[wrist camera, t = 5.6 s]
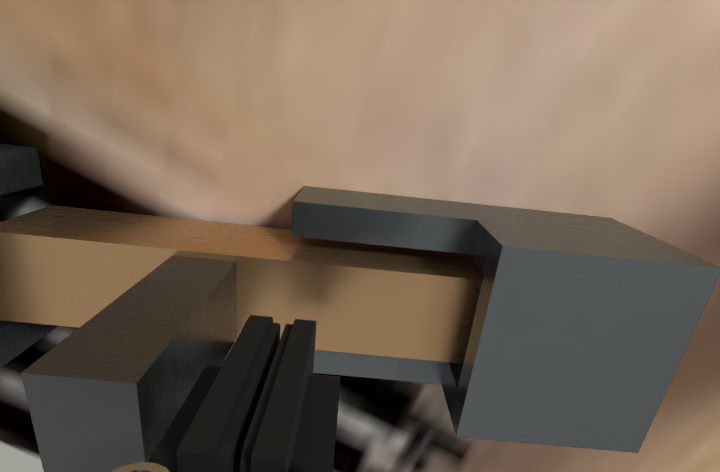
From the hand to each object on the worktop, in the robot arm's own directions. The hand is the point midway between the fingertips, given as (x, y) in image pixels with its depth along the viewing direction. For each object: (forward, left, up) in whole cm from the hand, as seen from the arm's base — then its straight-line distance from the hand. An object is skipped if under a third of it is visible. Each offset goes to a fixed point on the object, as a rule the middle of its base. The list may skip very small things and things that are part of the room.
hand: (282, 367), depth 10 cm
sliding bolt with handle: (+2, 0, -6) cm, 6 cm away
